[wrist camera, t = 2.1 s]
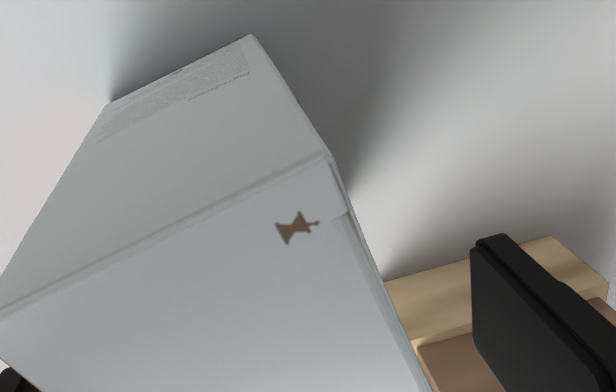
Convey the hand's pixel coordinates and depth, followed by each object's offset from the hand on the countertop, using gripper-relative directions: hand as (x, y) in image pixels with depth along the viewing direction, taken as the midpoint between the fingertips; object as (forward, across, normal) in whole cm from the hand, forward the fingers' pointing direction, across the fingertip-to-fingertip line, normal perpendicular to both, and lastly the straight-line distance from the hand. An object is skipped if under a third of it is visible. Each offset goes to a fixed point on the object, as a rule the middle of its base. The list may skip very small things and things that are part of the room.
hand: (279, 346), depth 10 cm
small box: (+9, 0, -1) cm, 9 cm away
